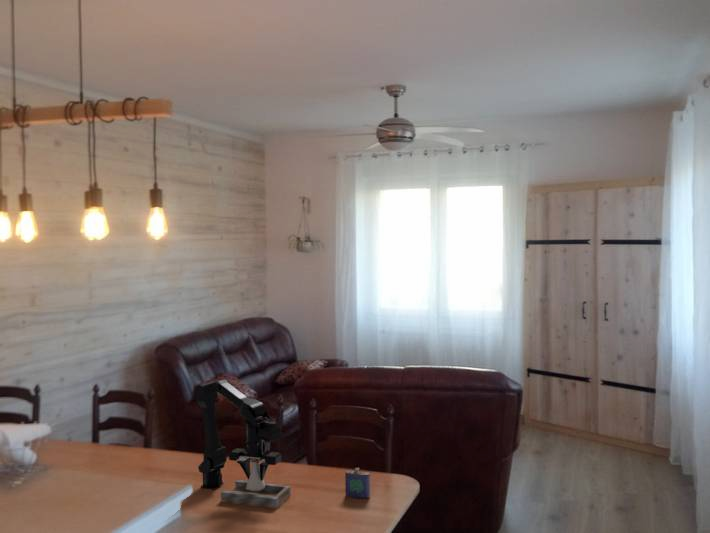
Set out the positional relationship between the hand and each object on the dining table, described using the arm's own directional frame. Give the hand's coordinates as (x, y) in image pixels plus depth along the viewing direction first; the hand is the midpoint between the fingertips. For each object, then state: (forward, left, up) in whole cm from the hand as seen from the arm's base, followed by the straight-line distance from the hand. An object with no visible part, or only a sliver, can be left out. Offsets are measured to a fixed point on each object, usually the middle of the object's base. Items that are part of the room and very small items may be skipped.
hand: (255, 479), depth 231 cm
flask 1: (0, 0, -3) cm, 3 cm away
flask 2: (+35, +12, -7) cm, 38 cm away
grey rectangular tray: (0, 0, -7) cm, 7 cm away
